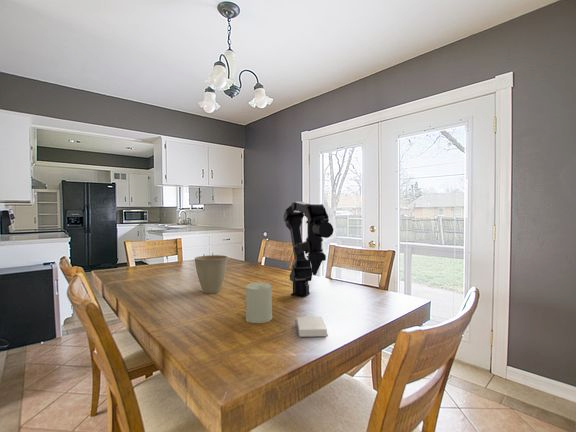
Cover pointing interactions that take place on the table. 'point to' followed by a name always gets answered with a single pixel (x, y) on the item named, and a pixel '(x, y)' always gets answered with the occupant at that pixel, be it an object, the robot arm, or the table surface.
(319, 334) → the tile
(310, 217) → the robot arm
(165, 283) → the table surface
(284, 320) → the table surface
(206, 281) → the plant pot
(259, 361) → the table surface
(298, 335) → the mat
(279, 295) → the table surface
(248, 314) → the can
